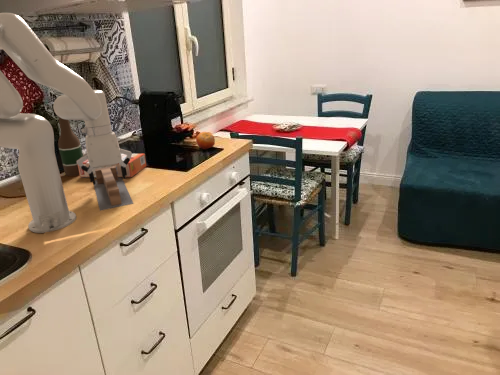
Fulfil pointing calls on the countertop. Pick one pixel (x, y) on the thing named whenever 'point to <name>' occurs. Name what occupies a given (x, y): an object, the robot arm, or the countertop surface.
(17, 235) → the countertop surface
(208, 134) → the fruit
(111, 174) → the bar
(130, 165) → the cracker box
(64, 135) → the beer bottle
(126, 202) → the mat
